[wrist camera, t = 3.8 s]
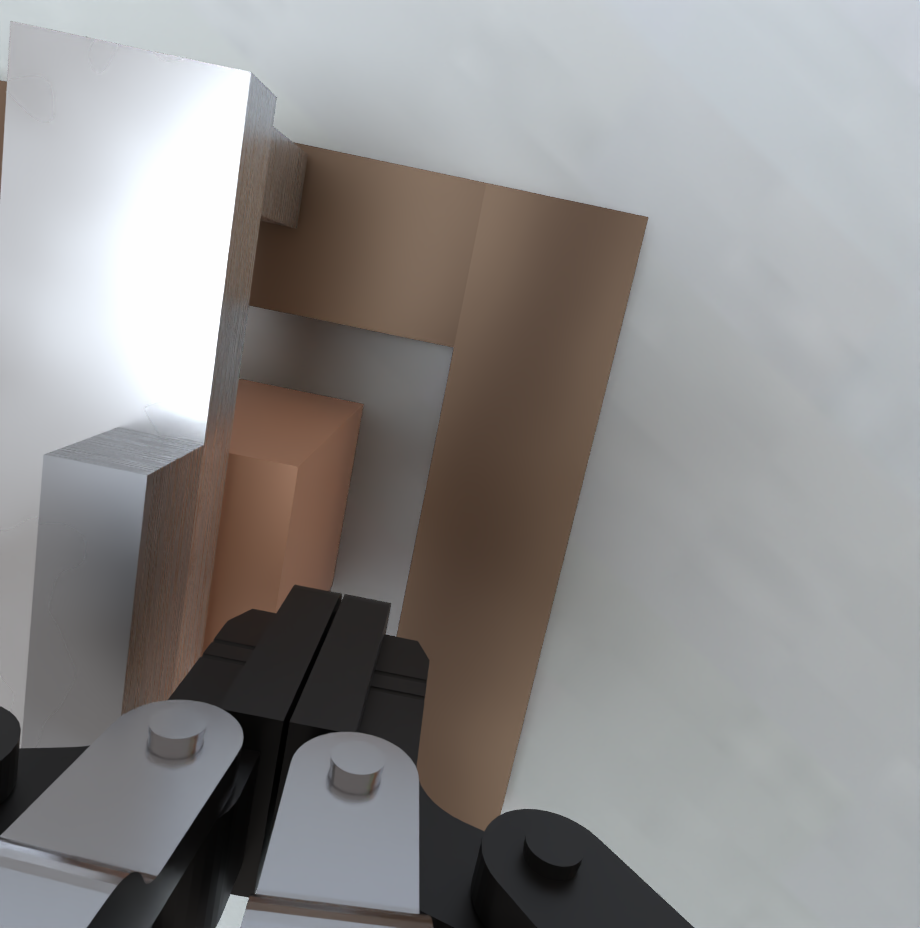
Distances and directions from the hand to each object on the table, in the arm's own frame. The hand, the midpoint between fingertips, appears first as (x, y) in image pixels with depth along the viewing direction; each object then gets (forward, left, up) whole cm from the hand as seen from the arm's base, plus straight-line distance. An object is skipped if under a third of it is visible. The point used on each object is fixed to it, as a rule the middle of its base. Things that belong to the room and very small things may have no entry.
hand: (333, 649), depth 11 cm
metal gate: (+4, 0, -6) cm, 7 cm away
